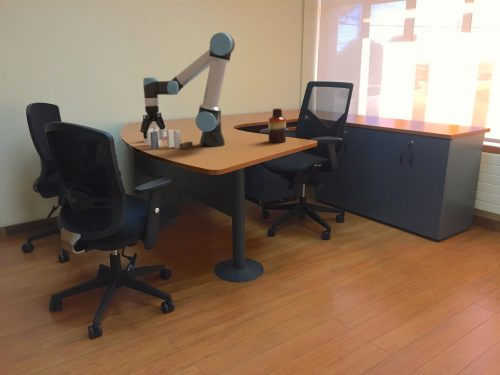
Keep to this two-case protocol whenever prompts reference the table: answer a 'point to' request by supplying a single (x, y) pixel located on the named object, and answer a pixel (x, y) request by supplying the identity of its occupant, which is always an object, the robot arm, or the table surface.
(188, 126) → the table surface
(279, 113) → the brown bottle
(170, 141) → the domino
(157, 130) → the domino
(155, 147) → the domino
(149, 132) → the domino
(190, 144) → the block
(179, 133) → the domino
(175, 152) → the table surface
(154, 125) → the ink box
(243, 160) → the table surface
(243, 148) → the table surface
